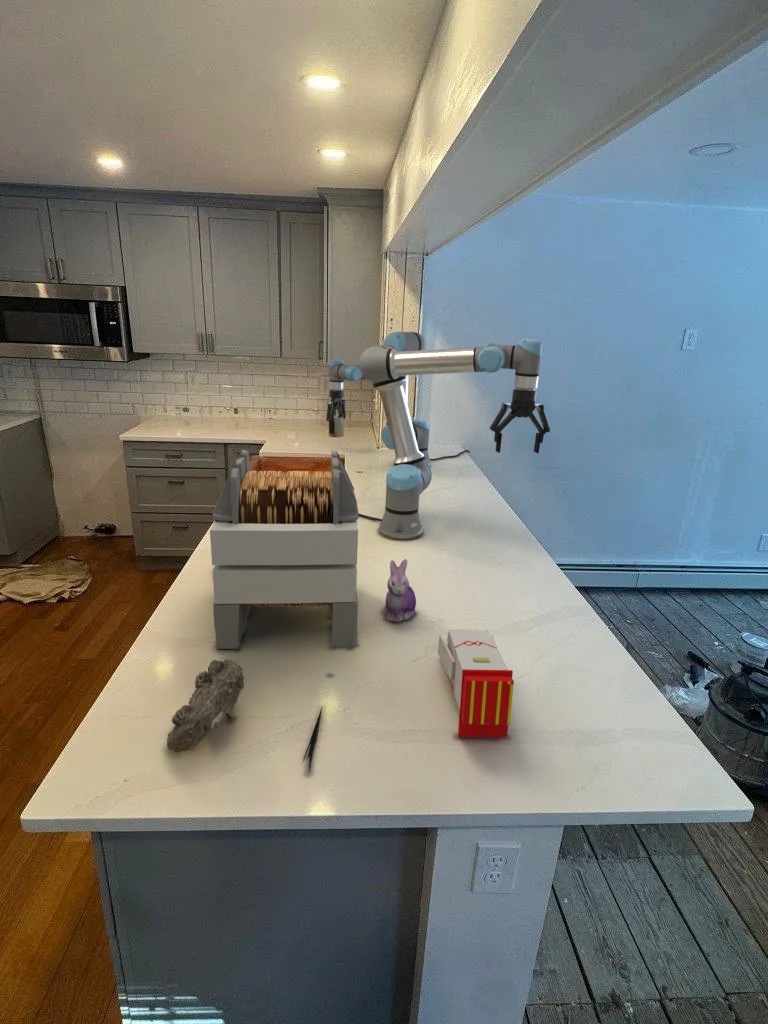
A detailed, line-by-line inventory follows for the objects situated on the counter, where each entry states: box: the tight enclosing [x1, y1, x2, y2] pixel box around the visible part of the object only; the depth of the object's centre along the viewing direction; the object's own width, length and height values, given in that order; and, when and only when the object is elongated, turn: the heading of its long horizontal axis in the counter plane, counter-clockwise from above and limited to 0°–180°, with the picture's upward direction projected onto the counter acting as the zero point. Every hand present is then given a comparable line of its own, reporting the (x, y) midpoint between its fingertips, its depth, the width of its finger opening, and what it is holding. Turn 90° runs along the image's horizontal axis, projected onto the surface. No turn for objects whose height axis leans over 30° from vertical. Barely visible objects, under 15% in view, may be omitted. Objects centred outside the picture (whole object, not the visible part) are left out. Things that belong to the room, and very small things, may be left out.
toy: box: [437, 628, 515, 738], centre depth 117 cm, size 12×13×30 cm
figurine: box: [384, 558, 417, 623], centre depth 145 cm, size 9×10×15 cm
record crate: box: [209, 449, 360, 651], centre depth 139 cm, size 34×33×41 cm
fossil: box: [166, 658, 245, 754], centre depth 106 cm, size 22×10×15 cm
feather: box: [301, 673, 332, 771], centre depth 108 cm, size 2×28×2 cm
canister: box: [328, 415, 345, 438], centre depth 307 cm, size 8×8×10 cm
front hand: (517, 452), depth 193 cm, fingers open, 13 cm apart
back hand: (336, 432), depth 308 cm, fingers closed on canister, 8 cm apart
